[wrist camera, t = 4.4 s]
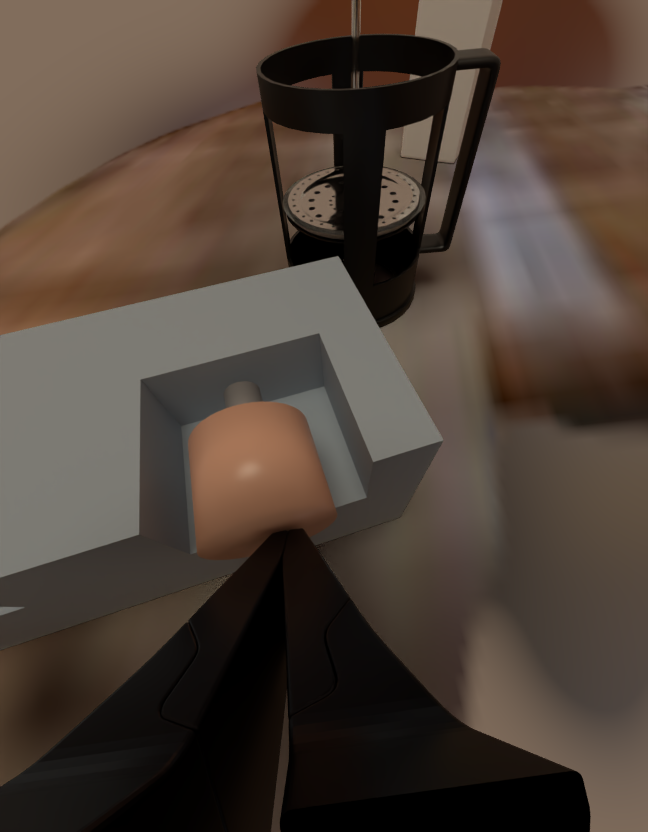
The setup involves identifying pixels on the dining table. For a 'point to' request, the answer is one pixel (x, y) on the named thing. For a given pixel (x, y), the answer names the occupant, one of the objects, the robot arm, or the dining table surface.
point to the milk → (464, 29)
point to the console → (183, 434)
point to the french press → (371, 152)
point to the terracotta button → (254, 475)
